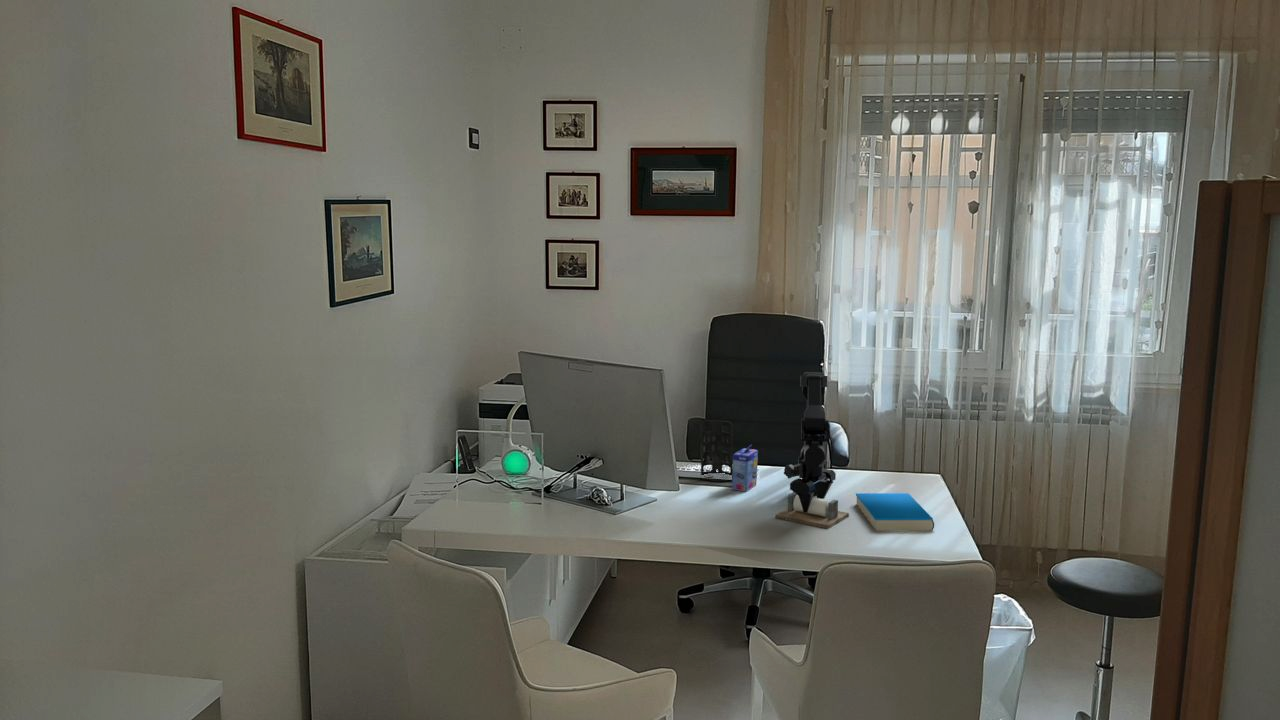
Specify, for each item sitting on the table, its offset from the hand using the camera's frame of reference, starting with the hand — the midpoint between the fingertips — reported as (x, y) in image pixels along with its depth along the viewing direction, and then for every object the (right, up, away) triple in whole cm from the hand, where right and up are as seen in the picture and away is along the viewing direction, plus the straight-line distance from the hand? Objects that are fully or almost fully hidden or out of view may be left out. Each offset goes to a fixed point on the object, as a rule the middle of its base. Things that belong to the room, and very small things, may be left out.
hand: (812, 508), depth 281 cm
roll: (0, -2, 0) cm, 2 cm away
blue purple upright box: (-17, +2, +31) cm, 35 cm away
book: (+24, -3, +1) cm, 24 cm away
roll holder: (0, -3, 0) cm, 3 cm away
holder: (-25, +3, +41) cm, 49 cm away
